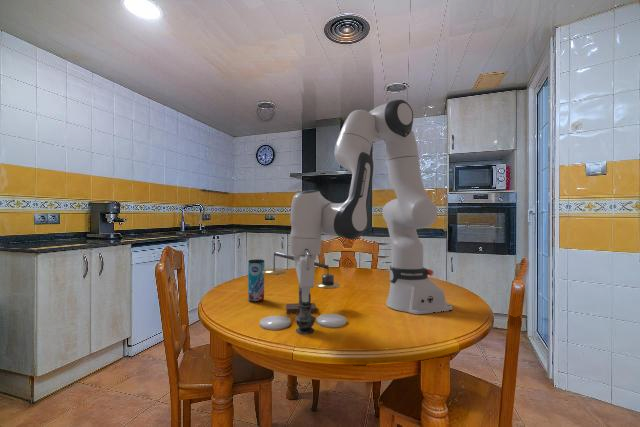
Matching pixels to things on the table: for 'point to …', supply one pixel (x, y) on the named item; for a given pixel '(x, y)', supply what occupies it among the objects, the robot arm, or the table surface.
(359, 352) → the table surface
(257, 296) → the beverage can
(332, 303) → the table surface
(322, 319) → the dish low side
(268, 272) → the balance
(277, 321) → the dish high side
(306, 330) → the chess piece
